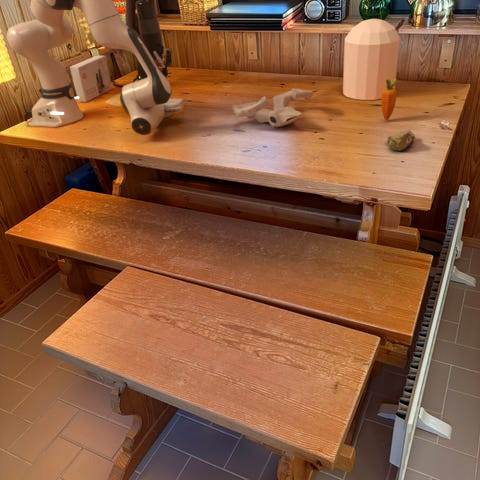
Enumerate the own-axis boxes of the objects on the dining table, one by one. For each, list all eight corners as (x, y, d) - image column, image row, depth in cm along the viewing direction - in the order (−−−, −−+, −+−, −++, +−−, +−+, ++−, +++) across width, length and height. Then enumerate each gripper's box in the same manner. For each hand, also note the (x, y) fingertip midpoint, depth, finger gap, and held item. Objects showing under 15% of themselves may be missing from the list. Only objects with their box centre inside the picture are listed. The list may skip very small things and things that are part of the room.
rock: (408, 140, 153) (379, 139, 152) (414, 122, 149) (384, 120, 148) (421, 154, 144) (391, 153, 143) (428, 135, 140) (396, 133, 139)
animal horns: (230, 133, 167) (227, 101, 161) (244, 110, 188) (241, 81, 182) (308, 133, 161) (308, 99, 155) (313, 109, 182) (314, 78, 176)
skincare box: (87, 102, 214) (77, 67, 204) (78, 102, 215) (68, 66, 206) (113, 88, 229) (105, 54, 220) (104, 88, 231) (96, 54, 222)
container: (363, 103, 182) (369, 26, 166) (332, 90, 198) (334, 19, 182) (405, 92, 188) (414, 17, 172) (372, 81, 205) (377, 11, 189)
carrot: (394, 118, 167) (398, 76, 158) (393, 123, 163) (397, 80, 154) (379, 117, 168) (383, 75, 160) (378, 122, 165) (382, 80, 156)
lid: (155, 71, 184) (154, 67, 183) (167, 72, 182) (166, 67, 181) (148, 75, 180) (147, 71, 179) (160, 76, 178) (159, 71, 177)
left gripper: (178, 102, 173) (186, 90, 184) (126, 104, 176) (137, 92, 187) (181, 118, 177) (189, 106, 188) (130, 120, 180) (141, 107, 191)
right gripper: (171, 28, 173) (178, 74, 183) (136, 29, 177) (145, 74, 186) (164, 32, 167) (172, 79, 177) (128, 33, 171) (137, 80, 180)
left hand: (163, 99), depth 188 cm, fingers closed on jar, 5 cm apart
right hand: (158, 77), depth 182 cm, fingers closed on lid, 5 cm apart
